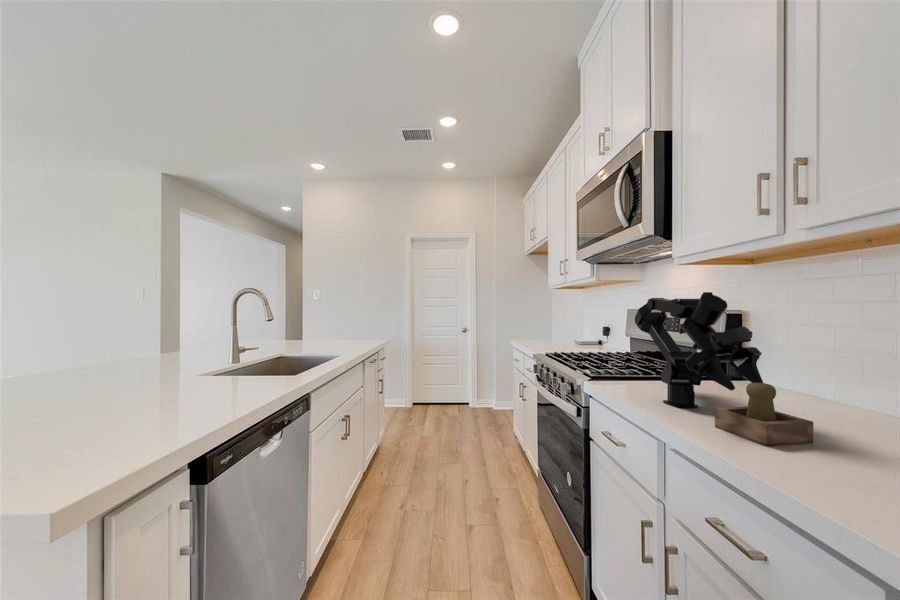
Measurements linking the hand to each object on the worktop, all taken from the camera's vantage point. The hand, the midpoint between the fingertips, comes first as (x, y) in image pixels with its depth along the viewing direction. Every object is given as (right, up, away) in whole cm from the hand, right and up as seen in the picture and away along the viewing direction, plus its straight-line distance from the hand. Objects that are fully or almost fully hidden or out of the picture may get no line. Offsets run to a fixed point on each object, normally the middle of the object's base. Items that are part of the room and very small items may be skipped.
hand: (748, 388), depth 86 cm
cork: (+1, -9, -3) cm, 10 cm away
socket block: (+1, -10, -3) cm, 10 cm away
